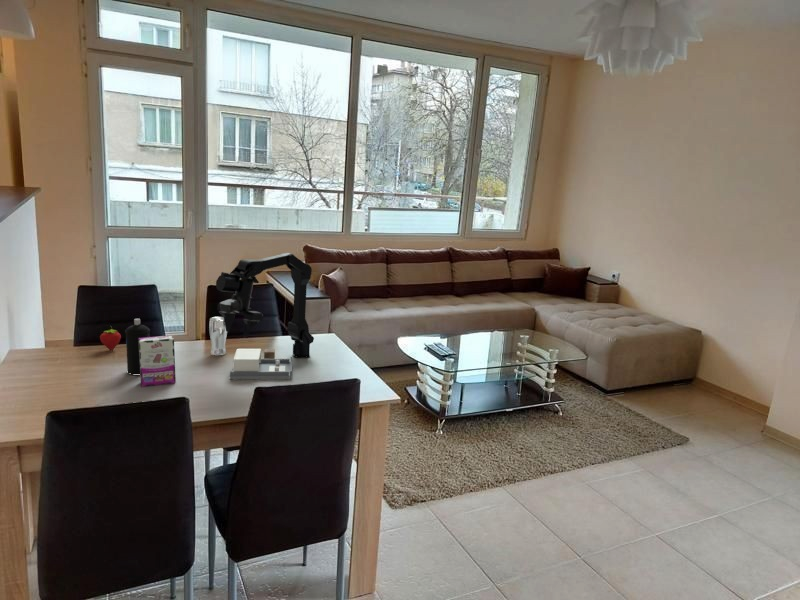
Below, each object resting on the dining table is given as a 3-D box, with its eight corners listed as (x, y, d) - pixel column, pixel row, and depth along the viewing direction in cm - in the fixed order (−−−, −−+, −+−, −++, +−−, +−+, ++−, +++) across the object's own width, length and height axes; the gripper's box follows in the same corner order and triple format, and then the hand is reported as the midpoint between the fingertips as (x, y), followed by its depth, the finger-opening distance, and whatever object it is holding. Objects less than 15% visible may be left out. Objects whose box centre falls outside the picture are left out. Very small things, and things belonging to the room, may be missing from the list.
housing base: (291, 364, 214) (292, 357, 213) (291, 379, 198) (291, 371, 198) (234, 364, 209) (234, 356, 209) (230, 379, 194) (230, 371, 193)
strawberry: (100, 348, 217) (99, 325, 215) (121, 347, 221) (120, 323, 219) (100, 353, 212) (99, 328, 210) (121, 351, 216) (120, 327, 214)
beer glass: (221, 357, 217) (221, 321, 214) (206, 355, 218) (205, 319, 215) (230, 352, 224) (230, 317, 220) (215, 350, 225) (214, 315, 222)
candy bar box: (174, 378, 192) (173, 334, 188) (175, 383, 188) (174, 338, 184) (140, 382, 187) (138, 337, 183) (140, 387, 182) (138, 341, 179)
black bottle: (156, 370, 198) (154, 318, 194) (137, 377, 191) (135, 323, 186) (140, 366, 201) (138, 315, 197) (121, 372, 194) (119, 319, 189)
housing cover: (260, 362, 210) (261, 348, 208) (258, 373, 197) (258, 359, 196) (237, 362, 208) (237, 348, 206) (233, 374, 196) (233, 359, 194)
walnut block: (274, 359, 219) (274, 349, 218) (274, 362, 215) (274, 352, 214) (264, 359, 218) (264, 349, 217) (264, 362, 214) (264, 352, 213)
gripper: (209, 287, 195) (201, 328, 196) (244, 297, 186) (236, 340, 187) (232, 289, 205) (225, 328, 206) (267, 298, 196) (259, 340, 197)
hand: (235, 334), depth 199 cm, fingers open, 9 cm apart
